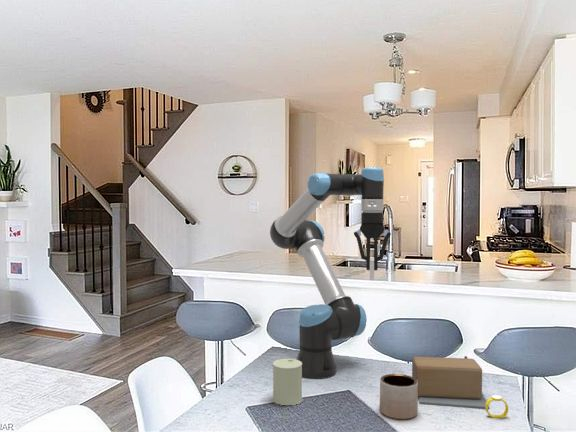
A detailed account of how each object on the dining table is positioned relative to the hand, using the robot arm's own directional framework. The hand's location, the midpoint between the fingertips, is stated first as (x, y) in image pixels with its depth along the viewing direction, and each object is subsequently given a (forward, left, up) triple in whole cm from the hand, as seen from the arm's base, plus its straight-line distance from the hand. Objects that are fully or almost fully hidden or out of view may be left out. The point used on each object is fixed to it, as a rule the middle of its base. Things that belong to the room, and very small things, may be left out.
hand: (371, 279), depth 170 cm
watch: (+36, -25, -35) cm, 56 cm away
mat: (+25, -12, -34) cm, 44 cm away
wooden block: (+14, -12, -29) cm, 34 cm away
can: (-25, -25, -35) cm, 49 cm away
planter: (+9, -27, -35) cm, 45 cm away
